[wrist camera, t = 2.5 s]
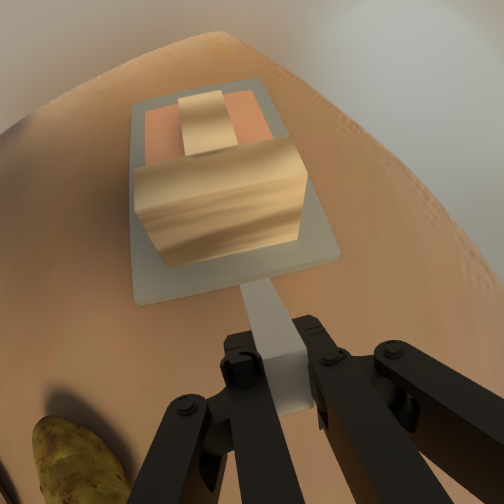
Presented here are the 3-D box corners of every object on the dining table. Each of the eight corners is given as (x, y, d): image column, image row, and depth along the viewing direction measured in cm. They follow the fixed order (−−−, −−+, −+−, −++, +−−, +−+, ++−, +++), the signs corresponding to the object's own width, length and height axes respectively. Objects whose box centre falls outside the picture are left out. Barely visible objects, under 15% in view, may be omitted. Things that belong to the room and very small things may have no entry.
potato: (114, 400, 24) (66, 391, 17) (174, 528, 19) (143, 562, 12) (47, 422, 23) (-8, 416, 16) (98, 541, 17) (54, 566, 10)
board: (338, 261, 30) (341, 254, 29) (139, 306, 29) (134, 301, 27) (260, 85, 44) (260, 77, 43) (134, 111, 42) (132, 104, 41)
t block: (297, 239, 30) (307, 173, 22) (167, 268, 29) (134, 211, 21) (264, 149, 35) (263, 83, 27) (158, 172, 34) (135, 109, 26)
